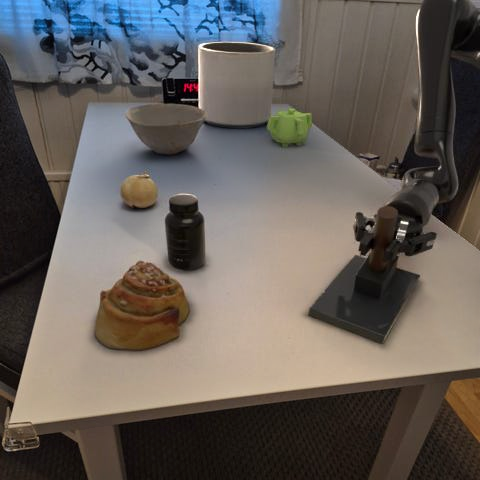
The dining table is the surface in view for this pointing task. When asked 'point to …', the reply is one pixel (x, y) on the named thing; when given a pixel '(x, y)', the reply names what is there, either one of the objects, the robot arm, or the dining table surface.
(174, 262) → the supplement bottle
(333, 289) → the slate board
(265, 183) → the dining table surface
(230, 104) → the planter
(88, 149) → the dining table surface
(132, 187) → the onion
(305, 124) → the teapot
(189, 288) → the dining table surface
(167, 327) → the pastry
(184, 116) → the ceramic bowl
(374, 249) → the wooden mallet
